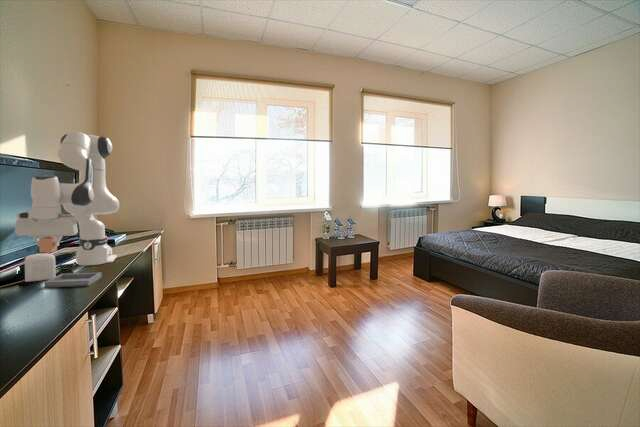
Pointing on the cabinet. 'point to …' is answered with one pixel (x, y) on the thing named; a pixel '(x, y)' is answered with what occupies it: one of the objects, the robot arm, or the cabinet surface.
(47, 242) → the terracotta block
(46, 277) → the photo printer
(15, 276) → the cabinet surface
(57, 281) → the tray
